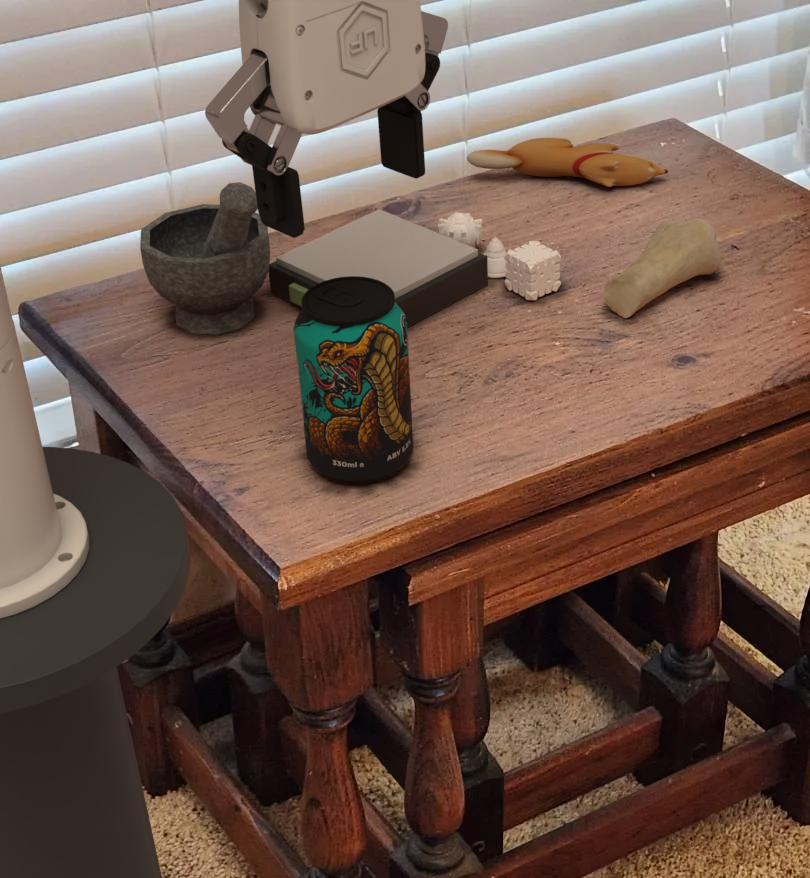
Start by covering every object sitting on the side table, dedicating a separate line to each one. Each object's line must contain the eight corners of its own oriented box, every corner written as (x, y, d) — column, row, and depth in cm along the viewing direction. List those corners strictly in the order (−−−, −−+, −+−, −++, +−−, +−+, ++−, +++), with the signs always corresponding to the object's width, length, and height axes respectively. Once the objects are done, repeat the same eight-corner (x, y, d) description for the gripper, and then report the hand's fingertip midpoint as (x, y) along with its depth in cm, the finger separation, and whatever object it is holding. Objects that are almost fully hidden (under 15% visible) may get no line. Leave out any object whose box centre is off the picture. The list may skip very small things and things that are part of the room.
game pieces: (562, 290, 119) (562, 252, 117) (529, 304, 118) (529, 266, 116) (463, 238, 127) (462, 201, 125) (431, 250, 126) (430, 214, 124)
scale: (371, 347, 114) (368, 310, 112) (265, 296, 121) (261, 260, 119) (488, 285, 121) (487, 248, 119) (381, 239, 128) (379, 204, 126)
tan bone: (659, 249, 124) (663, 193, 121) (734, 265, 121) (740, 208, 118) (600, 312, 116) (603, 254, 113) (679, 331, 114) (684, 272, 111)
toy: (661, 176, 137) (668, 197, 132) (465, 168, 137) (465, 189, 132) (666, 139, 135) (672, 159, 131) (467, 131, 135) (467, 151, 131)
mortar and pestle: (128, 315, 119) (102, 168, 112) (224, 272, 124) (206, 129, 117) (216, 367, 113) (195, 214, 105) (315, 319, 118) (301, 171, 110)
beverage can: (365, 503, 98) (353, 338, 91) (285, 466, 102) (267, 305, 95) (435, 452, 103) (428, 290, 95) (356, 418, 106) (343, 260, 99)
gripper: (235, -46, 74) (275, 274, 85) (482, -132, 83) (491, 166, 94) (140, -73, 79) (190, 235, 89) (385, -152, 88) (404, 136, 98)
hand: (344, 199), depth 91 cm, fingers open, 9 cm apart
